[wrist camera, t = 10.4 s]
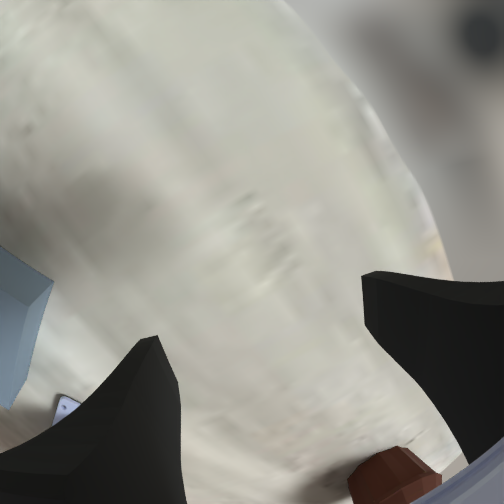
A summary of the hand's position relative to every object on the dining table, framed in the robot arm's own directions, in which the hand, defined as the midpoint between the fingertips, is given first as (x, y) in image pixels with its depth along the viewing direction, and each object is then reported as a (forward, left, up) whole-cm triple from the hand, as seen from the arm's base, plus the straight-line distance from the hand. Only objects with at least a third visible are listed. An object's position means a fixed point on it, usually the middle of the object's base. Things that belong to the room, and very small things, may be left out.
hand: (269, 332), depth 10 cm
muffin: (-15, -30, -10) cm, 35 cm away
